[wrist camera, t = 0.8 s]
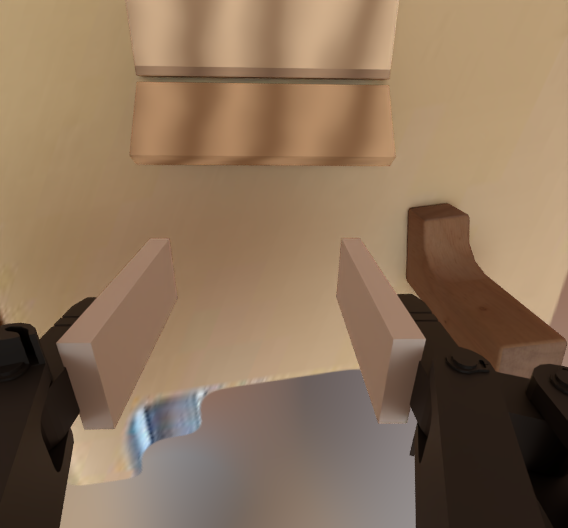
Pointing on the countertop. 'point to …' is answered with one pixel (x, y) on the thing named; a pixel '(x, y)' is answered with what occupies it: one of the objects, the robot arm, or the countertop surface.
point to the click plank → (262, 124)
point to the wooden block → (473, 296)
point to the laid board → (263, 38)
